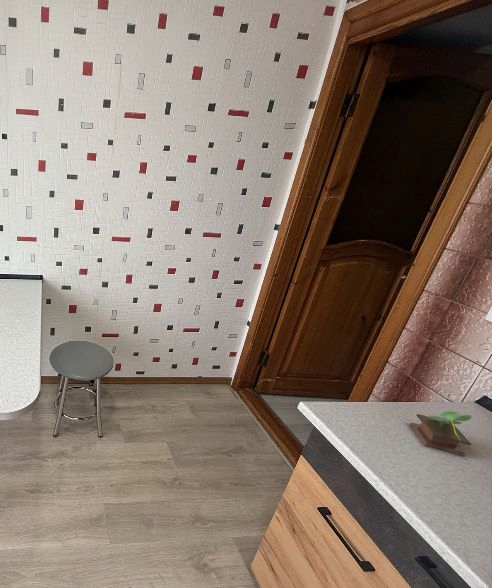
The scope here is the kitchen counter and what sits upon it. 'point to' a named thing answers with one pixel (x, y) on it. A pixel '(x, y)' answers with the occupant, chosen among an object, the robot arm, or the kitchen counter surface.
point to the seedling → (452, 418)
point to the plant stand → (439, 435)
